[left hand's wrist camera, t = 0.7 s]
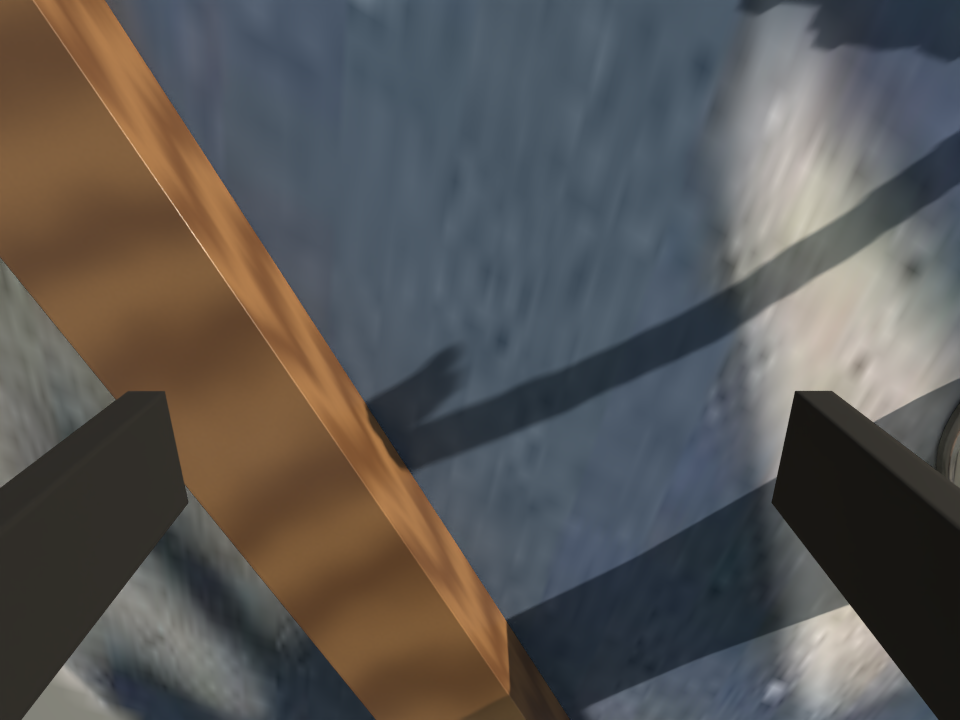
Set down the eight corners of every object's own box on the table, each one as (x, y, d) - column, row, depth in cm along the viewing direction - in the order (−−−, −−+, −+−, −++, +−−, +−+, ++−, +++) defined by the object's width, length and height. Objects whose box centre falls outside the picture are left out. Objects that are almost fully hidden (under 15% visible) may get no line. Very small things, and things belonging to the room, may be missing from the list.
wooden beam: (-157, -85, 30) (-324, -140, 24) (-19, -192, 28) (-159, -280, 22) (487, 773, 53) (488, 859, 47) (583, 739, 51) (597, 824, 45)
